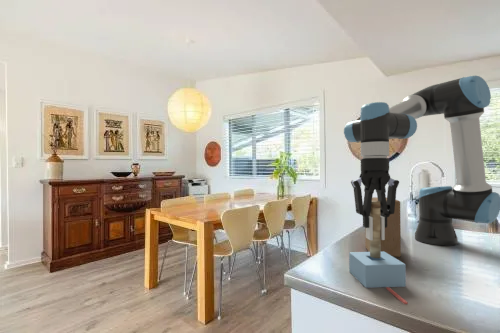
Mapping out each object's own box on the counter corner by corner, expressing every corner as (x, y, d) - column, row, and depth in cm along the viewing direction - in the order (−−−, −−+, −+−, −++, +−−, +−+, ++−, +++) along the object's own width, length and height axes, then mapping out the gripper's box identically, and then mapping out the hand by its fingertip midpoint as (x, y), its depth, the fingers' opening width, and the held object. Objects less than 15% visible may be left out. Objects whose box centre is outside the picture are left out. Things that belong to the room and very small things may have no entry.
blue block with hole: (384, 270, 85) (384, 251, 85) (405, 286, 74) (405, 264, 74) (349, 271, 85) (349, 252, 85) (365, 287, 74) (365, 265, 74)
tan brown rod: (377, 254, 81) (377, 200, 81) (382, 258, 78) (382, 201, 78) (368, 255, 81) (367, 200, 81) (372, 258, 78) (372, 202, 78)
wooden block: (401, 257, 97) (400, 200, 97) (371, 255, 99) (370, 200, 99) (392, 248, 107) (392, 197, 107) (365, 247, 109) (364, 197, 109)
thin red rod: (389, 288, 73) (389, 287, 73) (407, 304, 65) (407, 302, 65) (386, 288, 73) (386, 287, 73) (404, 304, 65) (404, 302, 65)
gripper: (394, 157, 83) (394, 235, 83) (342, 158, 83) (343, 235, 83) (409, 156, 76) (409, 241, 76) (352, 157, 75) (353, 243, 75)
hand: (375, 238), depth 79 cm, fingers closed on tan brown rod, 3 cm apart
